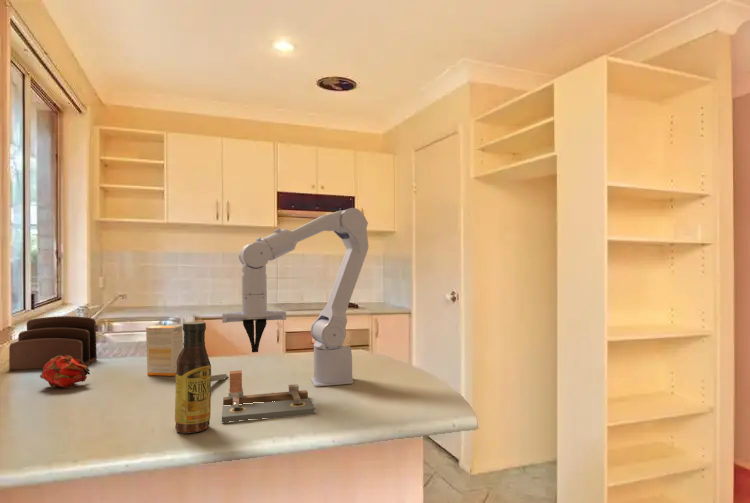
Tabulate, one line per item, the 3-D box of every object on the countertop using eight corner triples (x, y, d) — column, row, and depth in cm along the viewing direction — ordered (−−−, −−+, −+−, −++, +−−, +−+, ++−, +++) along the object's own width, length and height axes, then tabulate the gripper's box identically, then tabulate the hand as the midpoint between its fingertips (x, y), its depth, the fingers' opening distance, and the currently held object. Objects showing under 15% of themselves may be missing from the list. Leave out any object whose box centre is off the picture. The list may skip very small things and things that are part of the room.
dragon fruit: (44, 391, 125) (87, 399, 123) (23, 378, 118) (68, 387, 116) (62, 359, 130) (104, 367, 128) (44, 346, 123) (87, 354, 121)
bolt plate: (310, 403, 107) (309, 397, 107) (314, 414, 100) (314, 407, 100) (222, 411, 102) (222, 405, 102) (221, 423, 96) (221, 416, 96)
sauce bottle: (189, 437, 88) (188, 326, 88) (167, 431, 92) (166, 323, 92) (218, 426, 94) (217, 321, 94) (197, 420, 97) (196, 319, 97)
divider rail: (306, 396, 112) (306, 383, 112) (312, 409, 103) (312, 395, 103) (223, 404, 108) (223, 390, 108) (222, 418, 98) (222, 403, 98)
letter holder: (28, 362, 151) (28, 316, 151) (97, 360, 154) (96, 315, 154) (8, 370, 141) (8, 321, 141) (82, 368, 144) (82, 319, 144)
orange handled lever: (243, 394, 109) (242, 369, 109) (243, 408, 99) (243, 381, 99) (228, 396, 108) (228, 370, 108) (228, 410, 99) (227, 382, 99)
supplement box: (184, 372, 137) (183, 324, 137) (174, 376, 132) (173, 327, 132) (157, 371, 138) (156, 324, 138) (146, 375, 133) (145, 326, 133)
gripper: (283, 291, 123) (284, 346, 123) (222, 293, 119) (223, 350, 119) (286, 294, 116) (287, 352, 116) (221, 296, 112) (222, 356, 112)
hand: (255, 351), depth 117 cm, fingers closed
